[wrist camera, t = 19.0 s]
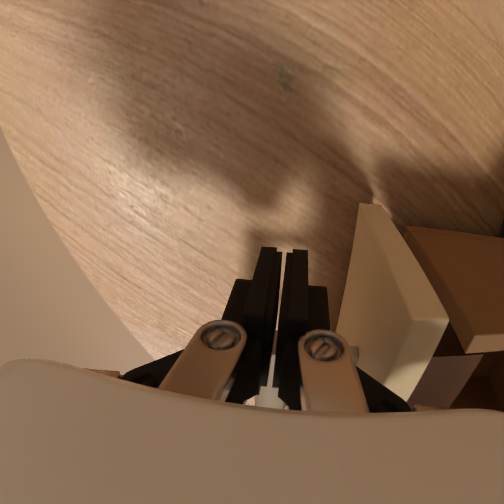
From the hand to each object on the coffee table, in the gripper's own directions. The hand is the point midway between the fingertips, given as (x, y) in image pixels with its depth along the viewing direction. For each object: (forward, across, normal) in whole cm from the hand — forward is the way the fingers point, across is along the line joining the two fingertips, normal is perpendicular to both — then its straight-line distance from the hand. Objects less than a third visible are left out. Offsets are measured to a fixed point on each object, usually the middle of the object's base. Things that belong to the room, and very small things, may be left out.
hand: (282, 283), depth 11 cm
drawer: (+5, -9, +5) cm, 11 cm away
